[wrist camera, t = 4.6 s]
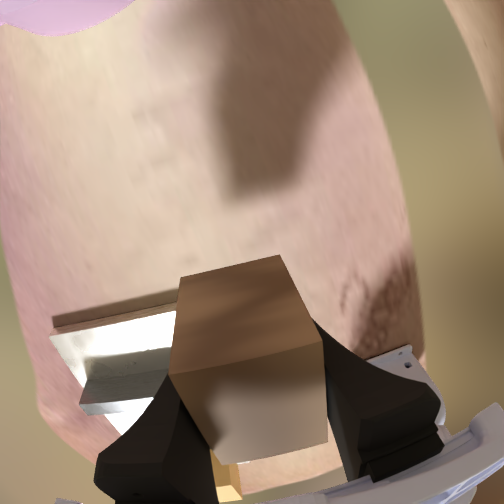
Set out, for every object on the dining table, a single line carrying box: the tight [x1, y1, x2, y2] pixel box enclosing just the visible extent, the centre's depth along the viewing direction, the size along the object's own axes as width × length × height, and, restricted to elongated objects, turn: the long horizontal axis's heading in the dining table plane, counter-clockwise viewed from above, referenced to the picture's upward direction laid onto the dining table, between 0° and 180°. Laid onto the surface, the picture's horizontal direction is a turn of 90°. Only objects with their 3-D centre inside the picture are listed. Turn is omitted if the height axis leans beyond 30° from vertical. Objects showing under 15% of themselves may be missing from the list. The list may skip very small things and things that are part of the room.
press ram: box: [210, 449, 242, 502], centre depth 28 cm, size 9×5×5 cm, turn 102°
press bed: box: [49, 302, 250, 464], centre depth 26 cm, size 12×24×4 cm, turn 12°
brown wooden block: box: [168, 254, 328, 465], centre depth 12 cm, size 4×6×6 cm
